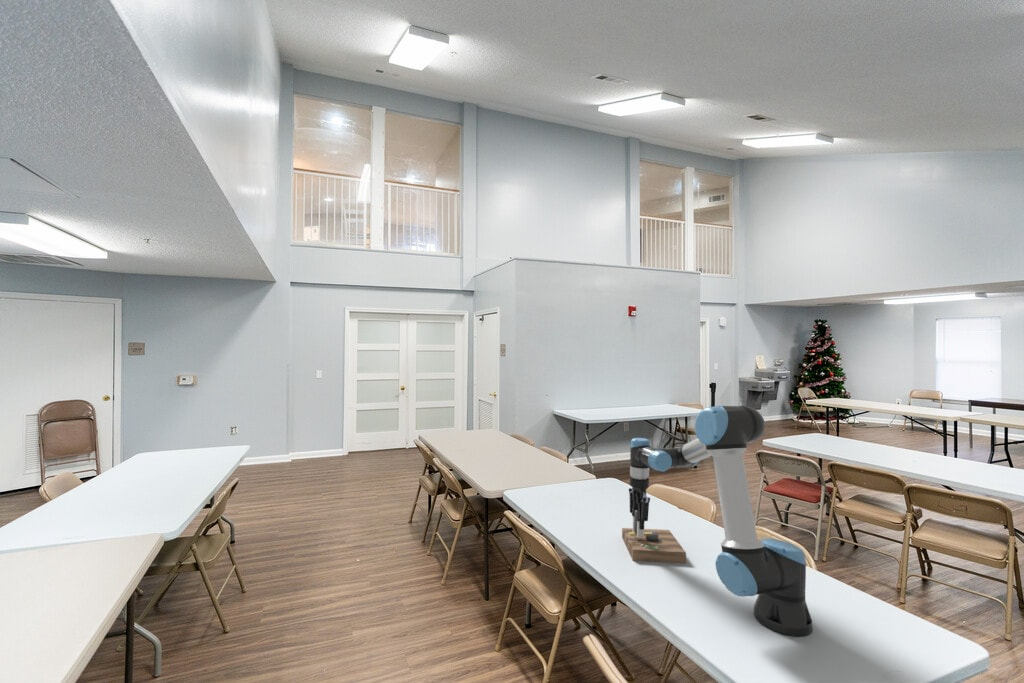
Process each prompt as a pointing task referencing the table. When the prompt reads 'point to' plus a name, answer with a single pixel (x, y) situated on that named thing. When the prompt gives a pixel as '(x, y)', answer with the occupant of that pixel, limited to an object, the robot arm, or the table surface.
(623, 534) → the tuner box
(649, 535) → the dark grey lever
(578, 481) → the table surface
